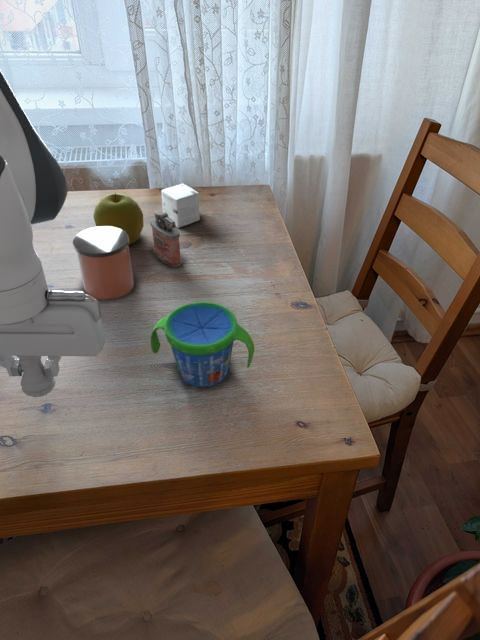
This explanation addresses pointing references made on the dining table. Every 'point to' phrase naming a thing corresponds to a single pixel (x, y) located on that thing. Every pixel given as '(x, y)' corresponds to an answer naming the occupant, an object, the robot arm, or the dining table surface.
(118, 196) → the apple
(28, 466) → the dining table surface
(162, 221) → the lighter
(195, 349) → the snack cup
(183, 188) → the white cardboard box
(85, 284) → the canister
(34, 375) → the rook chess piece
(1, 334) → the robot arm
